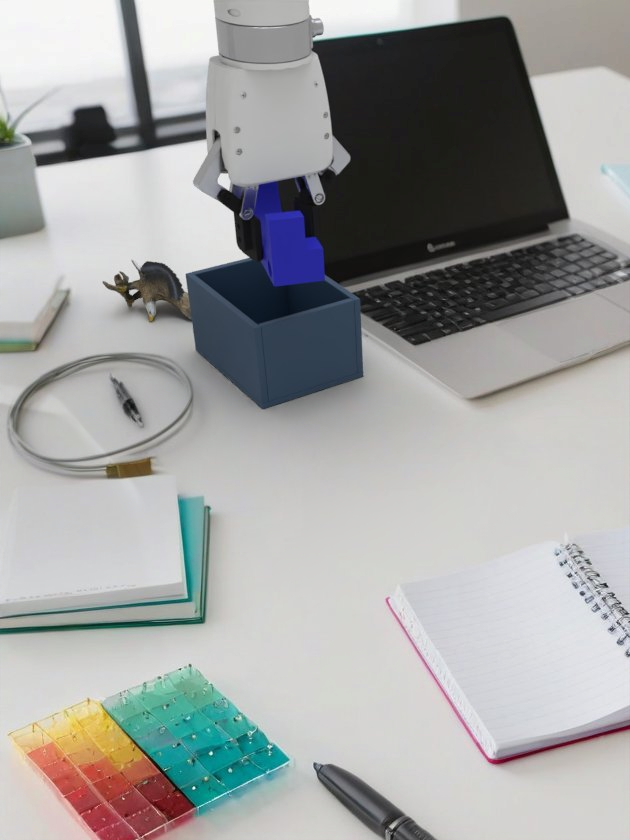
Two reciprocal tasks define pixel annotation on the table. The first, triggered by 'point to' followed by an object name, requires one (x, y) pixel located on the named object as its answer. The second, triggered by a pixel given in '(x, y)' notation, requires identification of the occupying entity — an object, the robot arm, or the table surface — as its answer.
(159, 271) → the eagle figurine
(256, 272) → the basket
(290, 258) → the cable clip
